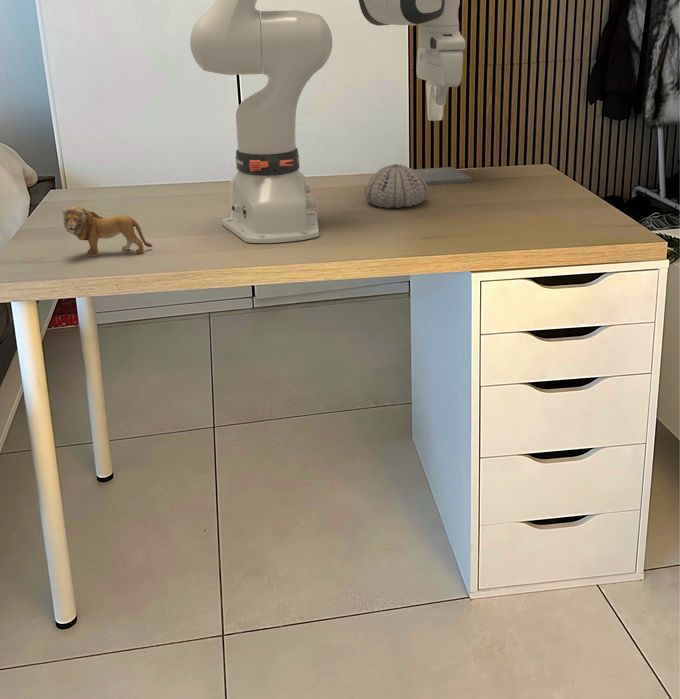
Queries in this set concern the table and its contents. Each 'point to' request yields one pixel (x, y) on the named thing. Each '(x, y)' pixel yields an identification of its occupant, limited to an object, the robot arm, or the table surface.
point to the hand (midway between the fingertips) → (436, 103)
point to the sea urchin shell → (396, 187)
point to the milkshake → (433, 102)
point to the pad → (443, 175)
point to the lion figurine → (101, 228)
